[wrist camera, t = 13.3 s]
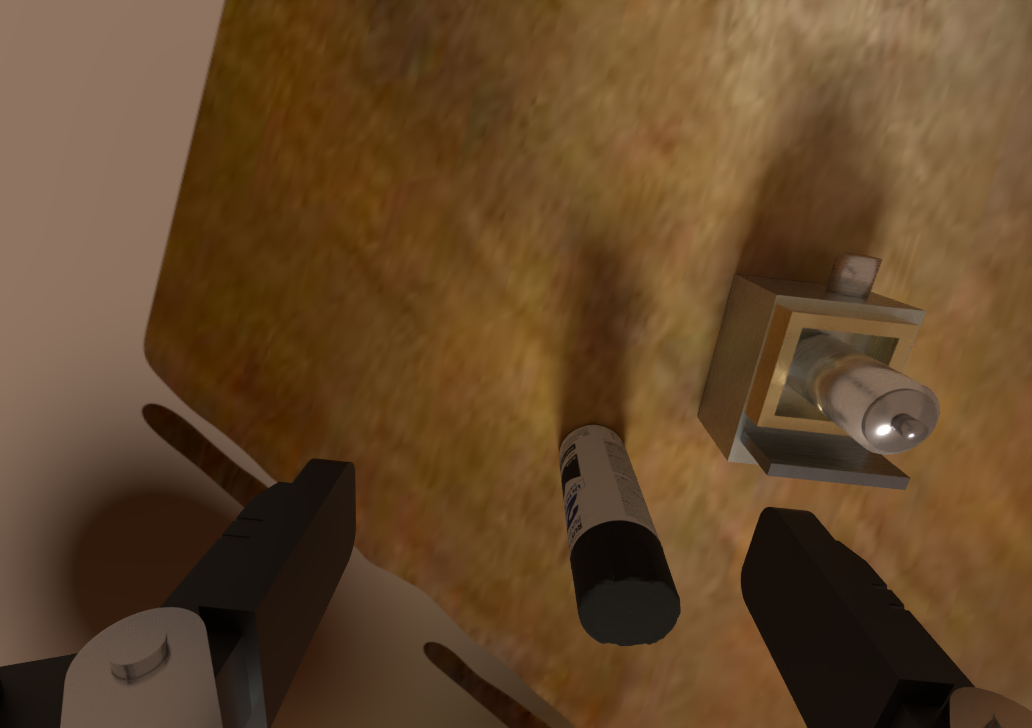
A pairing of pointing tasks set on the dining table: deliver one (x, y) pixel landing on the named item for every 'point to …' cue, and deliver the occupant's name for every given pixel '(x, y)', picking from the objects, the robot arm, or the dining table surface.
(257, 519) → the robot arm
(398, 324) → the dining table surface
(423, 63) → the dining table surface
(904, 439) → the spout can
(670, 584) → the spray can
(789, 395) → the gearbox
